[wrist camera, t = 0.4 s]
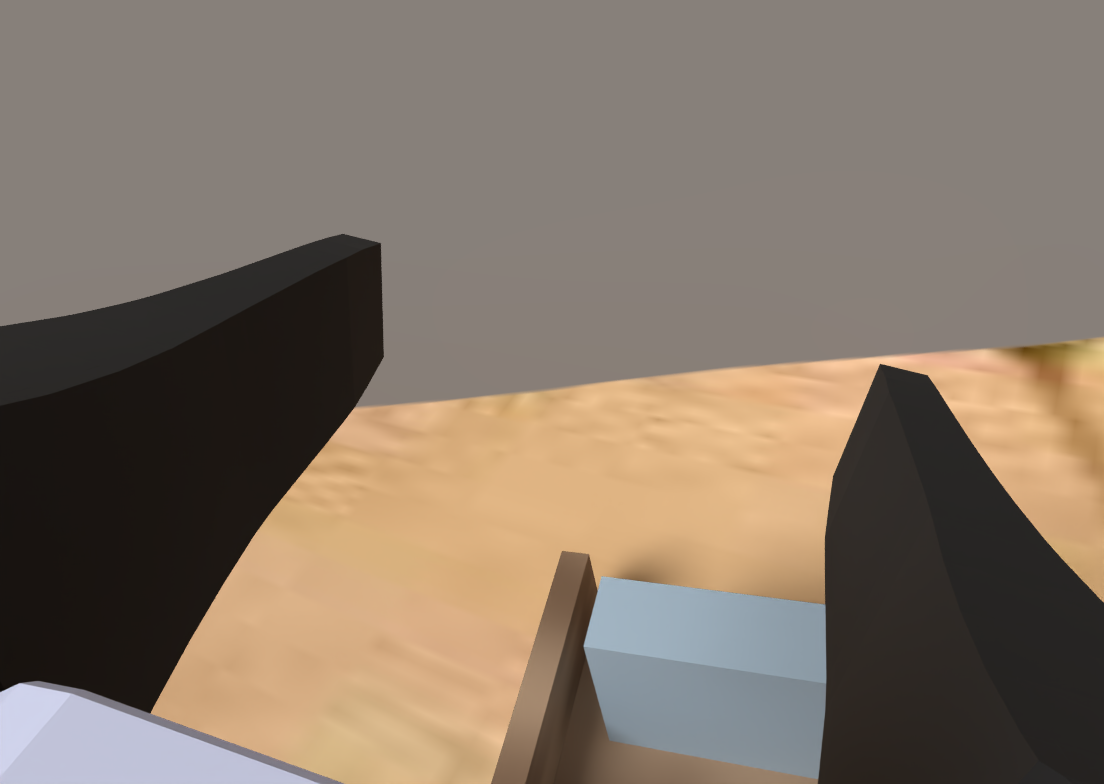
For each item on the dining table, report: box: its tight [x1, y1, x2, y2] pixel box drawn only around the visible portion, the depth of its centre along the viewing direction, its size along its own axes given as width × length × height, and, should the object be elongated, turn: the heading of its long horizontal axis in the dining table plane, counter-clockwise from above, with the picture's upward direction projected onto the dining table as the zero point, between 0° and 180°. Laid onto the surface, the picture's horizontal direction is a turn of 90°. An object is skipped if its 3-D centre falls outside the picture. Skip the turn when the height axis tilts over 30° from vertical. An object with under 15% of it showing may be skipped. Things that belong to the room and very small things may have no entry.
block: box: [583, 576, 826, 779], centre depth 26 cm, size 2×8×6 cm, turn 75°
